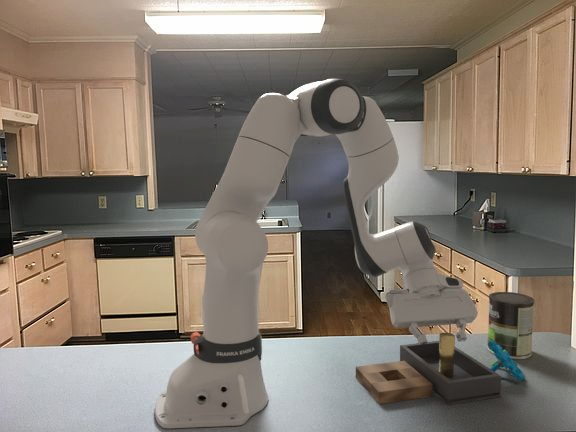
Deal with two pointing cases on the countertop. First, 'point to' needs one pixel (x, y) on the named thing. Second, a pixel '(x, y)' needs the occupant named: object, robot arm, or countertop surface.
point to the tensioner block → (393, 382)
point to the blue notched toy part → (504, 361)
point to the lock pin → (446, 354)
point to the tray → (467, 374)
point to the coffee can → (511, 323)
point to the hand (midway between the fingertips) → (443, 342)
